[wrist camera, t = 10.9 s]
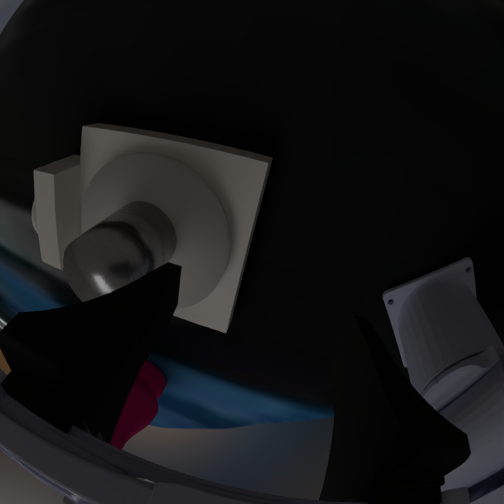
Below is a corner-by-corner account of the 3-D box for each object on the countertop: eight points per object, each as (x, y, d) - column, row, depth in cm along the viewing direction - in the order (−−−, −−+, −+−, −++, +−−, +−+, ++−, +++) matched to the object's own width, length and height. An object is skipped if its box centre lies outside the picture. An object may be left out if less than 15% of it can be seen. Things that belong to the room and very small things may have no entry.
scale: (272, 157, 19) (259, 175, 15) (231, 317, 26) (214, 361, 22) (73, 120, 20) (27, 130, 16) (74, 261, 27) (42, 288, 23)
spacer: (189, 256, 21) (149, 309, 15) (136, 273, 22) (93, 321, 17) (155, 189, 19) (101, 225, 14) (104, 215, 20) (51, 253, 15)
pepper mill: (113, 370, 35) (39, 490, 17) (123, 342, 31) (31, 484, 14) (161, 399, 35) (100, 526, 18) (178, 375, 32) (106, 529, 14)
